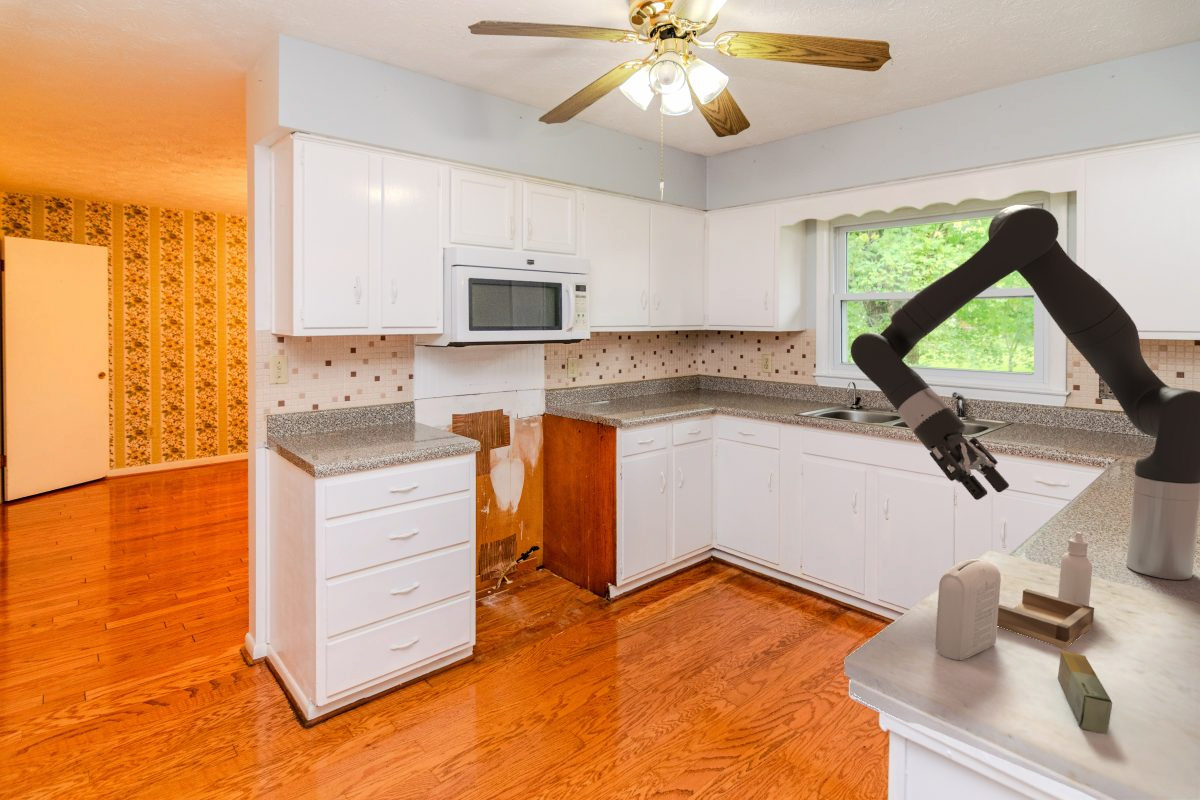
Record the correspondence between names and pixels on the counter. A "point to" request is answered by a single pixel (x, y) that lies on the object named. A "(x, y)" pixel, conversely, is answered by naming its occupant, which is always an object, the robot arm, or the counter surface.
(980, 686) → the counter surface
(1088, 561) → the eye dropper bottle
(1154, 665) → the counter surface
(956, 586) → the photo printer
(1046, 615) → the oak tray
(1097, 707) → the medication box
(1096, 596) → the counter surface
